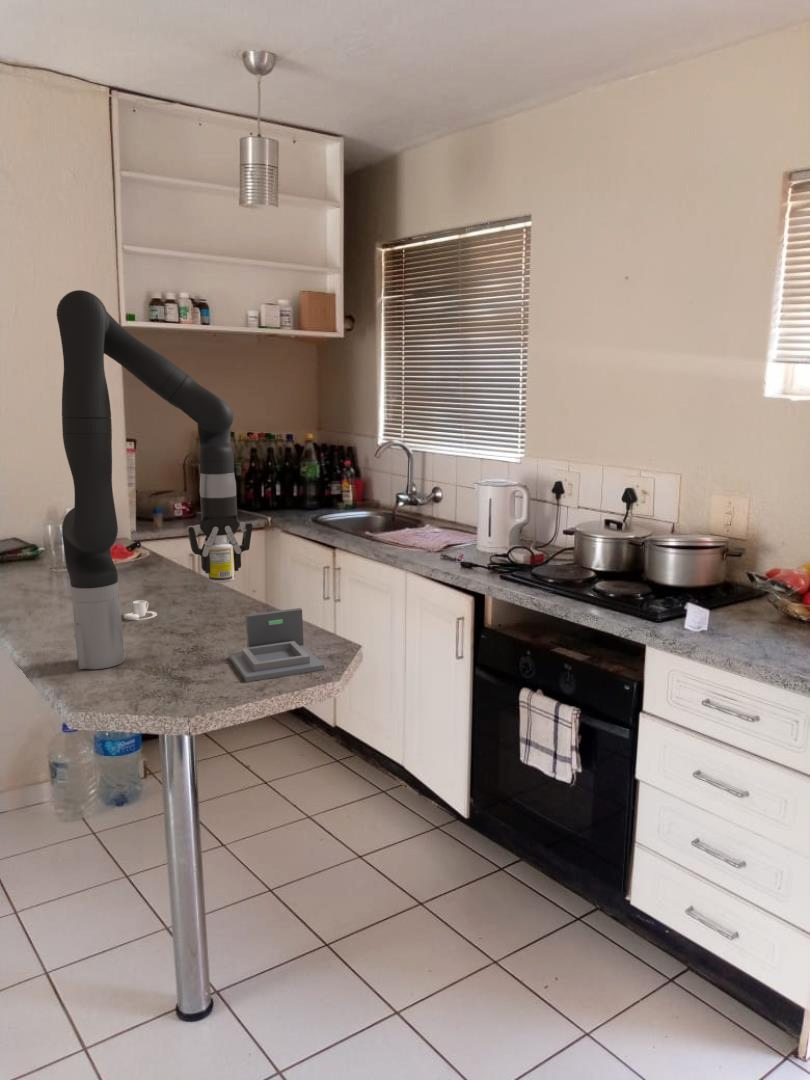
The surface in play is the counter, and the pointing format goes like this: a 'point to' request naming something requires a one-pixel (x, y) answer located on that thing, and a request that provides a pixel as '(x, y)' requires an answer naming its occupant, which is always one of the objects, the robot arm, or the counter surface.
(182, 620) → the counter surface
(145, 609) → the teacup and saucer
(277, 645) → the charging dock
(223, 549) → the supplement bottle
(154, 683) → the counter surface
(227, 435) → the robot arm
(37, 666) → the counter surface
